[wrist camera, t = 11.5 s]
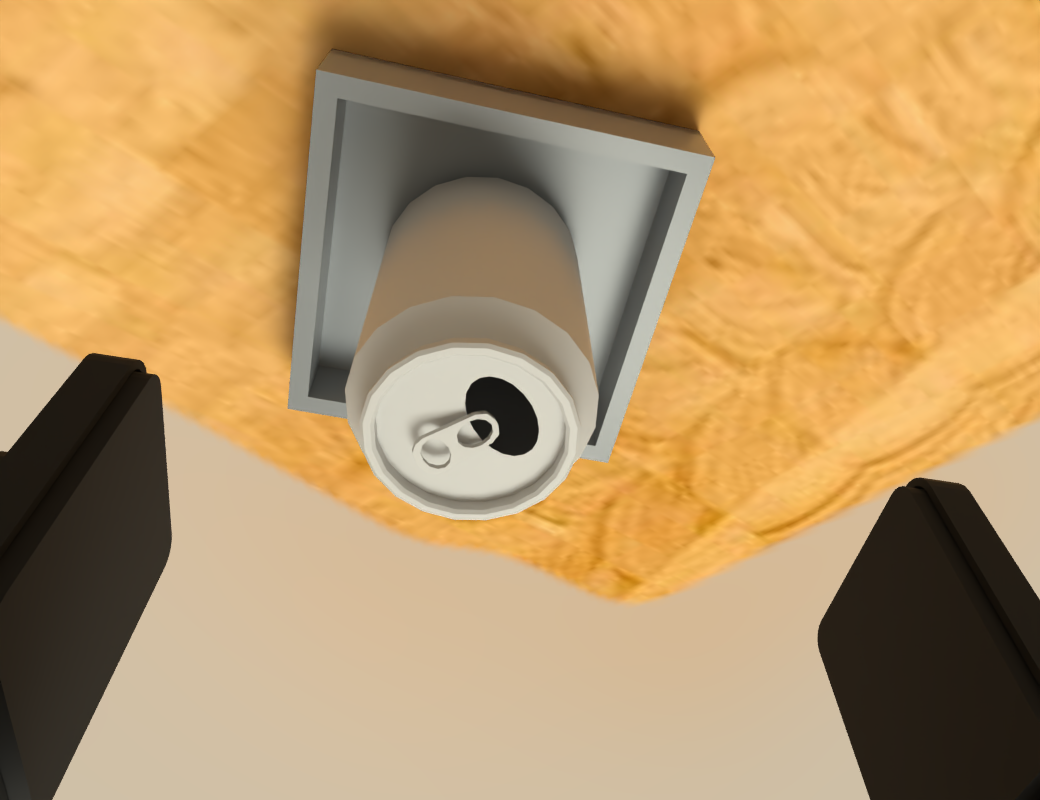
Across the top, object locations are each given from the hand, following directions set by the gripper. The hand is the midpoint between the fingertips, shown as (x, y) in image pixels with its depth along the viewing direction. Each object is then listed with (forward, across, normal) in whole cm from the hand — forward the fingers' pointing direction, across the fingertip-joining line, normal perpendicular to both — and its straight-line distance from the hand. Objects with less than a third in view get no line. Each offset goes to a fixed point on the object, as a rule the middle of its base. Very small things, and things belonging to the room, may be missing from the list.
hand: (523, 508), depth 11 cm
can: (+23, 0, +8) cm, 24 cm away
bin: (+23, 0, +8) cm, 25 cm away
